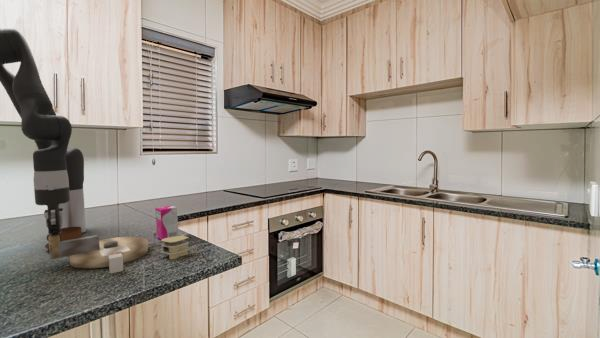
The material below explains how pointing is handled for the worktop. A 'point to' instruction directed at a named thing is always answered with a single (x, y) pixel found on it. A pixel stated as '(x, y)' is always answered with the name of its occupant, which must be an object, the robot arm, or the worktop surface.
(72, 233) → the cup and saucer
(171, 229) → the supplement box
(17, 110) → the robot arm
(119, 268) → the white block
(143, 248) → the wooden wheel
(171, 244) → the beige layered block
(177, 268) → the worktop surface
